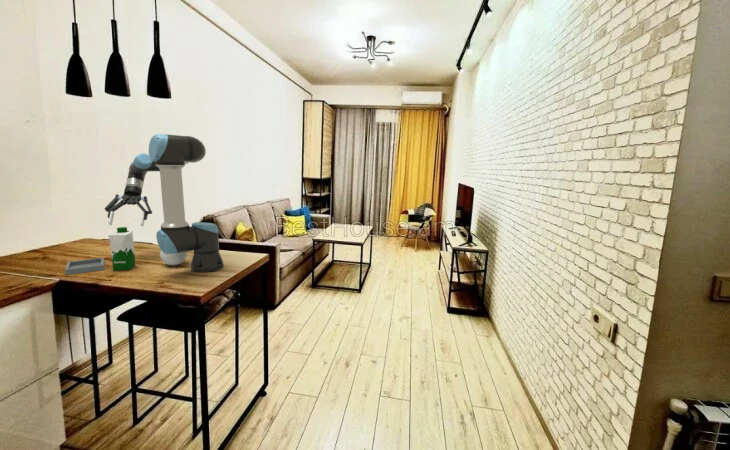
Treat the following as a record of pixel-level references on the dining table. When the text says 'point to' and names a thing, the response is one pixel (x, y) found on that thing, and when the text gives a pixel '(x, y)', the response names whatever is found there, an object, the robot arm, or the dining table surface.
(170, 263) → the decorative ball
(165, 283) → the dining table surface
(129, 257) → the soya milk
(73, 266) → the holder tray
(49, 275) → the dining table surface
